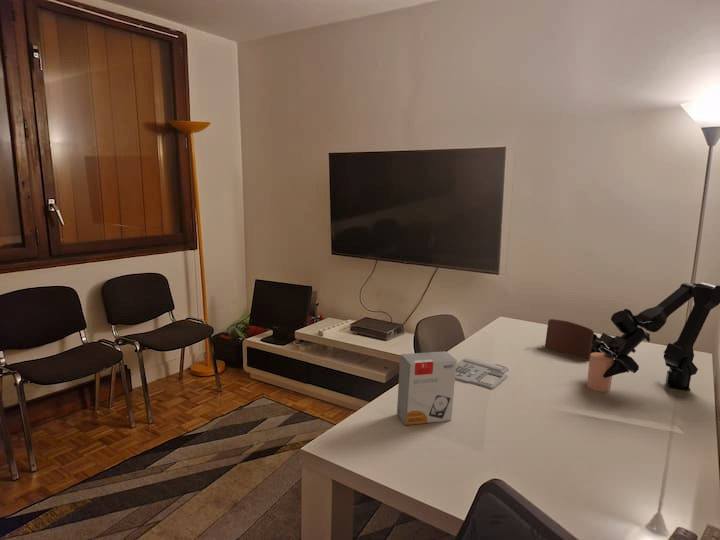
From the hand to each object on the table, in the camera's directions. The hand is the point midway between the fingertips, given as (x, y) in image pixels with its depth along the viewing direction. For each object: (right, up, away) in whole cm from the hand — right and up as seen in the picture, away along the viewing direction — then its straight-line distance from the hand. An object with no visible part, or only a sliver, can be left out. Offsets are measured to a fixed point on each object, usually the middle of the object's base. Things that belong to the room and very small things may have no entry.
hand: (596, 372), depth 166 cm
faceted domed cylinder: (+1, -6, +2) cm, 7 cm away
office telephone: (-38, -4, +14) cm, 41 cm away
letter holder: (+9, 0, +40) cm, 41 cm away
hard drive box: (-63, -10, -20) cm, 67 cm away
